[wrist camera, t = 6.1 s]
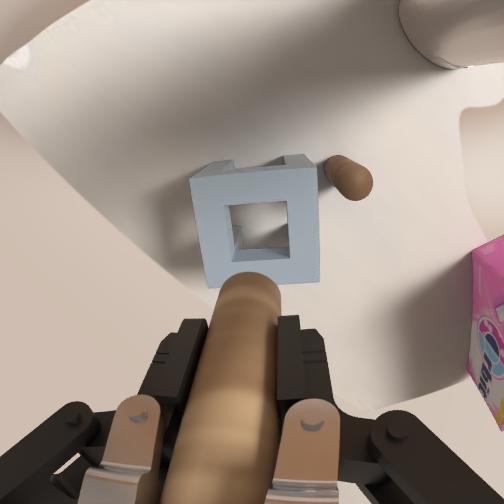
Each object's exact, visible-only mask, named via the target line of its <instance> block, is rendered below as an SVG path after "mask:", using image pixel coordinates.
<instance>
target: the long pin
mask: <svg viewBox="0 0 504 504" xmlns="http://www.w3.org/2000/svg"><path fill="white" fill-rule="evenodd" d="M278 316H281V294H280V291H279V289H278V287H277V285H276V284H275V283H274V282H273V281H272V280H271V279H270V278H269V277H267V276H265V275H263V274H260V273H257V272H241V273H237V274H235V275H233V276H231V277H229V278H228V279H227V280H226V281H225V282H224V283H223V285H222V287H221V289H220V292H219V296H218V299H217V302H216V306H215V309H214V312H213V315H212V319H211V322H210V326H209V329H208V332H207V335H206V339H205V342H204V345H203V349H202V352H201V356H200V359H199V362H198V366H197V369H196V373H195V376H194V379H193V383H192V386H191V390H190V393H189V397H188V400H187V404H186V407H185V411H184V414H183V418H182V421H181V425H180V429H179V432H178V436H177V439H176V443H175V447H174V450H173V454H172V458H171V461H170V465H169V469H168V472H167V476H166V480H165V484H164V487H163V491H162V495H161V499H160V503H159V504H264V503H265V499H266V495H267V492H268V489H269V487H270V486H271V484H272V482H273V478H274V473H275V468H276V463H277V458H278V453H279V448H280V443H281V437H282V423H281V420H280V417H279V416H278V407H277V359H278Z"/></svg>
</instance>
